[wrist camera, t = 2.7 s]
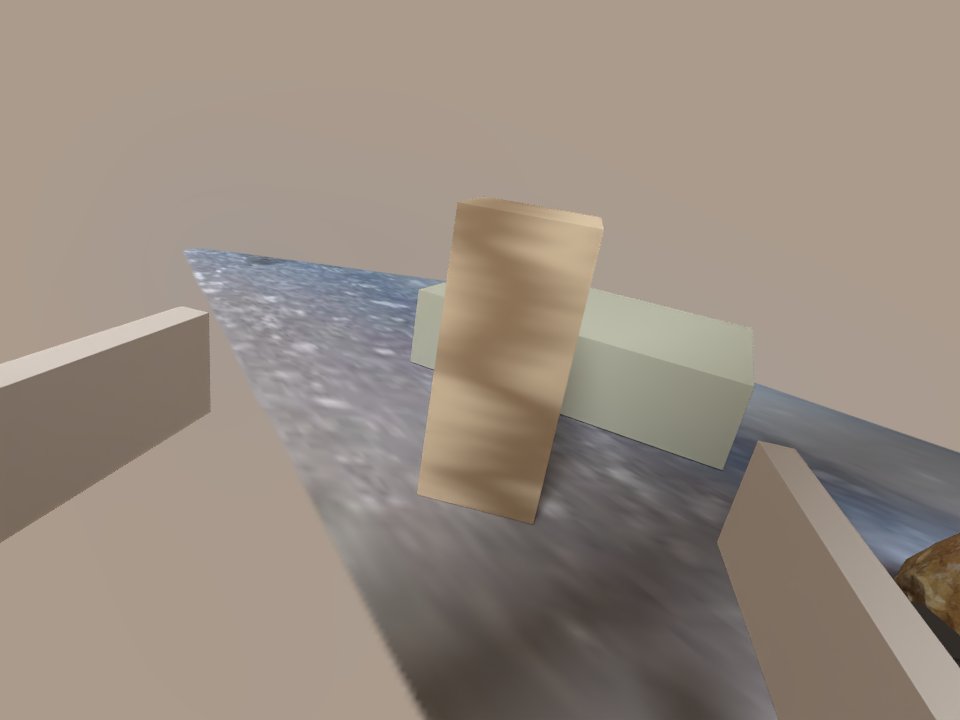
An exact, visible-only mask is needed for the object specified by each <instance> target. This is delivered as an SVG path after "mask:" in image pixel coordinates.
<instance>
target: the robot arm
mask: <svg viewBox="0 0 960 720" xmlns="http://www.w3.org/2000/svg"><path fill="white" fill-rule="evenodd" d="M209 412H210V353H209V313H207V312H204V311H200V310H195V309H191V308H187V307H182V306H180V307H177V308H174V309H171V310H167V311H165V312H162V313H158V314H155V315H152V316H149V317H146V318H142V319H140V320H136V321H133V322H130V323H127V324H124V325H121V326H118V327H114V328H111V329H108V330H105V331H102V332H99V333H96V334H93V335H89V336H86V337H83V338H80V339H77V340H74V341H71V342H67V343H64V344H61V345H58V346H55V347H52V348H49V349H46V350H43V351H39V352H36V353H33V354H30V355H27V356H24V357H21V358H17V359H14V360H11V361H8V362H5V363H2V364H0V543H1V542H2V541H4V540H6V539H7V538H9V537H10V536H12V535H14V534H15V533H17V532H18V531H20V530H21V529H23V528H25V527H26V526H28V525H29V524H31V523H32V522H34V521H36V520H38V519H39V518H41V517H42V516H44V515H46V514H47V513H49V512H50V511H52V510H54V509H55V508H57V507H58V506H60V505H62V504H63V503H65V502H66V501H68V500H70V499H71V498H73V497H74V496H76V495H78V494H79V493H81V492H83V491H84V490H86V489H87V488H89V487H91V486H92V485H94V484H95V483H97V482H98V481H100V480H102V479H103V478H105V477H107V476H108V475H110V474H111V473H113V472H115V471H116V470H118V469H119V468H121V467H123V466H124V465H126V464H127V463H129V462H131V461H132V460H134V459H135V458H137V457H139V456H140V455H142V454H143V453H145V452H147V451H148V450H150V449H151V448H153V447H155V446H156V445H158V444H159V443H161V442H163V441H164V440H166V439H167V438H169V437H171V436H172V435H174V434H176V433H177V432H179V431H180V430H182V429H184V428H185V427H187V426H188V425H190V424H191V423H193V422H195V421H196V420H198V419H200V418H201V417H203V416H204V415H206V414H208V413H209ZM717 544H718V547H719V550H720V552H721V555H722V558H723V561H724V564H725V567H726V570H727V573H728V575H729V578H730V581H731V584H732V587H733V590H734V593H735V596H736V599H737V601H738V604H739V607H740V610H741V613H742V616H743V619H744V622H745V624H746V627H747V630H748V633H749V636H750V639H751V642H752V645H753V647H754V650H755V653H756V656H757V659H758V662H759V665H760V668H761V670H762V673H763V676H764V679H765V682H766V685H767V688H768V691H769V693H770V696H771V699H772V702H773V705H774V708H775V711H776V714H777V716H778V719H779V720H960V635H959V634H958V633H956V632H955V631H954V630H953V629H952V628H951V627H949V626H948V625H947V624H946V623H945V622H944V621H942V620H941V619H940V618H939V617H938V616H936V615H935V614H934V613H933V612H932V611H931V610H929V609H928V608H927V607H926V606H925V605H923V604H920V603H916V602H912V601H909V600H908V598H907V597H906V596H905V594H904V593H903V592H902V590H901V589H900V588H899V586H898V585H897V584H896V583H895V581H894V580H893V579H892V577H891V576H890V575H889V573H888V572H887V571H886V569H885V568H884V567H883V565H882V564H881V563H880V561H879V560H878V559H877V557H876V556H875V555H874V553H873V552H872V551H871V549H870V548H869V547H868V545H867V544H866V543H865V541H864V540H863V539H862V537H861V536H860V535H859V533H858V532H857V531H856V529H855V528H854V527H853V525H852V524H851V523H850V521H849V520H848V519H847V517H846V516H845V515H844V513H843V512H842V511H841V509H840V508H839V507H838V505H837V504H836V503H835V501H834V500H833V499H832V497H831V496H830V495H829V493H828V492H827V491H826V489H825V488H824V487H823V485H822V484H821V483H820V481H819V480H818V479H817V477H816V476H815V475H814V473H813V472H812V471H811V469H810V468H809V467H808V465H807V464H806V463H805V461H804V460H803V459H802V457H801V456H800V455H799V453H798V452H797V451H796V450H795V449H793V448H789V447H785V446H781V445H776V444H772V443H768V442H763V441H759V440H758V442H757V444H756V447H755V449H754V452H753V454H752V457H751V459H750V462H749V464H748V467H747V469H746V472H745V474H744V477H743V479H742V481H741V484H740V486H739V489H738V491H737V494H736V496H735V499H734V501H733V504H732V506H731V509H730V511H729V514H728V516H727V519H726V521H725V523H724V526H723V528H722V531H721V533H720V536H719V538H718V541H717Z"/></svg>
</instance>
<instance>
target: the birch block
mask: <svg viewBox="0 0 960 720" xmlns="http://www.w3.org/2000/svg"><path fill="white" fill-rule="evenodd" d="M603 231H604V228H603V224H602V219H601V218H600V217H595V216H590V215H584V214H579V213H573V212H568V211H562V210H556V209H551V208H546V207H540V206H535V205H529V204H524V203H518V202H513V201H507V200H502V199H496V198H491V197H485V196H484V197H479V198H475V199H471V200H467V201H462V202H458V203H457V210H456V218H455V225H454V232H453V239H452V246H451V254H450V261H449V268H448V275H447V282H446V289H445V297H444V304H443V311H442V318H441V325H440V333H439V340H438V347H437V354H436V361H435V368H434V376H433V383H432V390H431V397H430V404H429V412H428V419H427V426H426V433H425V440H424V448H423V455H422V462H421V469H420V476H419V483H418V491H417V495H421V496H425V497H429V498H433V499H436V500H440V501H444V502H448V503H452V504H456V505H460V506H463V507H467V508H471V509H475V510H479V511H483V512H487V513H491V514H494V515H498V516H502V517H506V518H510V519H514V520H518V521H522V522H525V523H529V524H534V519H535V515H536V511H537V507H538V503H539V499H540V494H541V490H542V486H543V482H544V478H545V473H546V469H547V465H548V461H549V457H550V453H551V448H552V444H553V440H554V436H555V432H556V428H557V423H558V419H559V415H560V411H561V407H562V402H563V398H564V394H565V390H566V386H567V382H568V377H569V373H570V369H571V365H572V361H573V356H574V352H575V348H576V344H577V340H578V336H579V331H580V327H581V323H582V319H583V315H584V311H585V306H586V302H587V298H588V294H589V290H590V285H591V281H592V277H593V273H594V268H595V265H596V260H597V256H598V251H599V248H600V244H601V239H602V235H603Z"/></svg>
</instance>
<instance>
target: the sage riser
mask: <svg viewBox="0 0 960 720" xmlns="http://www.w3.org/2000/svg"><path fill="white" fill-rule="evenodd" d="M445 289H446V282H445V283H442V284H438V285H434V286H431V287H427V288H423V289H420V290H419V294H418V302H417V311H416V319H415V327H414V336H413V344H412V352H411V360H410V362H413V363H416V364H419V365H422V366H425V367H427V368H430V369H433V370H434V368H435V361H436V354H437V347H438V340H439V333H440V325H441V318H442V311H443V304H444V297H445ZM753 358H754V357H753V329H752V328H749V327H745V326H741V325H736V324H733V323H728V322H725V321H721V320H717V319H713V318H709V317H705V316H701V315H697V314H693V313H689V312H685V311H681V310H677V309H674V308H669V307H665V306H662V305H658V304H653V303H650V302H645V301H642V300H638V299H633V298H630V297H626V296H622V295H618V294H614V293H610V292H606V291H602V290H598V289H594V288H590V290H589V294H588V298H587V302H586V306H585V311H584V315H583V319H582V323H581V327H580V331H579V336H578V340H577V344H576V348H575V352H574V356H573V361H572V365H571V369H570V373H569V377H568V382H567V386H566V390H565V394H564V398H563V402H562V407H561V411H560V414H562V415H565V416H568V417H571V418H574V419H576V420H579V421H582V422H585V423H588V424H591V425H594V426H596V427H599V428H602V429H605V430H608V431H611V432H614V433H617V434H619V435H622V436H625V437H628V438H631V439H634V440H637V441H639V442H642V443H645V444H648V445H651V446H654V447H657V448H659V449H662V450H665V451H668V452H671V453H674V454H677V455H680V456H682V457H685V458H688V459H691V460H694V461H697V462H700V463H702V464H705V465H708V466H711V467H714V468H717V469H720V470H722V471H723V468H724V465H725V463H726V460H727V457H728V455H729V452H730V450H731V447H732V444H733V442H734V439H735V436H736V434H737V431H738V428H739V426H740V423H741V421H742V418H743V415H744V413H745V410H746V407H747V405H748V402H749V399H750V397H751V394H752V392H753V389H754V359H753Z"/></svg>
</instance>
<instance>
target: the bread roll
mask: <svg viewBox="0 0 960 720" xmlns="http://www.w3.org/2000/svg"><path fill="white" fill-rule="evenodd" d="M893 580H894V581H895V583H896V584H897V585H898V586H899V588H900V589H901V590H902V592H903V593H904V594H905V596H906V597H907V598H908V600H909V601H912V602H916V603H920V604H923V605H925V606H926V607H927V608H928V609H929V610H931V611H932V612H933V613H934V614H935V615H936V616H938V617H939V618H940V619H941V620H942V621H944V622H945V623H946V624H947V625H948V626H949V627H951V628H952V629H953V630H954V631H955V632H956V633H958V634H959V635H960V533H959V534H956V535H954V536H952V537H949V538H947V539H945V540H942V541H940V542H937V543H935V544H933V545H932V546H930V547H929V548H927V549H925V550H923V551H921V552H919V553H917V554H916V555H914V556H912V557H910V558H908V559H906V561H905V562H904V564H903V565H902V566H901V568H900V570H899V572H898V574H897V575H896V576H895V577H894V579H893Z"/></svg>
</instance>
